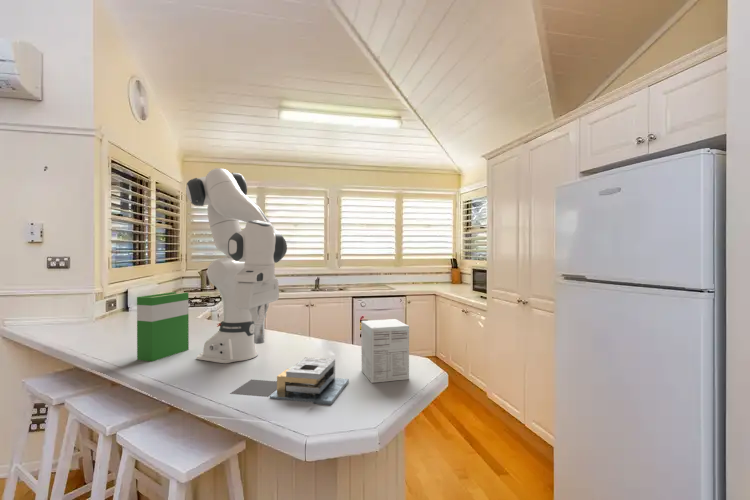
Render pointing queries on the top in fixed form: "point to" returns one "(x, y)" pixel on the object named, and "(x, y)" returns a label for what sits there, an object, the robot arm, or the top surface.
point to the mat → (257, 388)
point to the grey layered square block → (310, 382)
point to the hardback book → (162, 325)
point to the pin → (259, 326)
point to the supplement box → (385, 350)
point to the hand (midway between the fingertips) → (259, 319)
